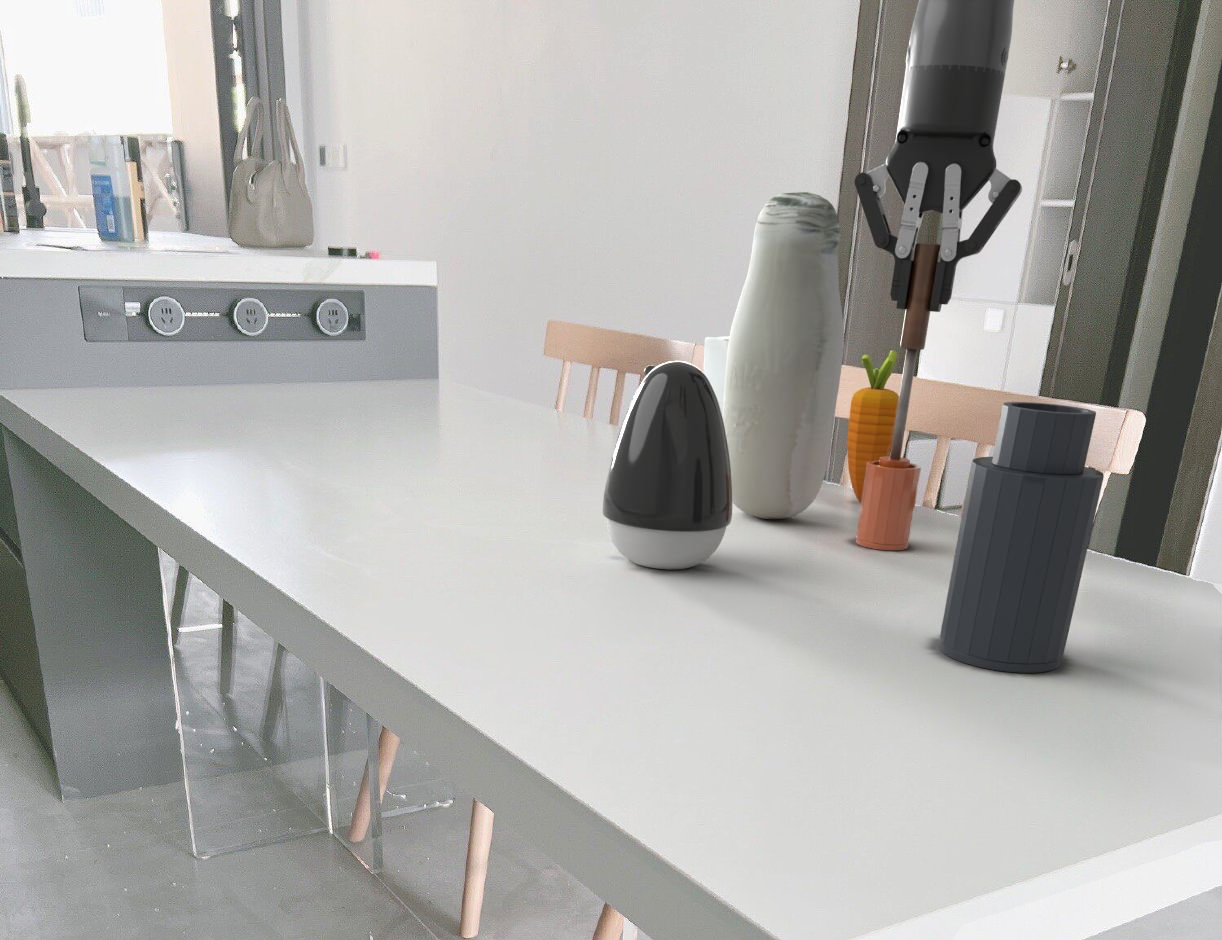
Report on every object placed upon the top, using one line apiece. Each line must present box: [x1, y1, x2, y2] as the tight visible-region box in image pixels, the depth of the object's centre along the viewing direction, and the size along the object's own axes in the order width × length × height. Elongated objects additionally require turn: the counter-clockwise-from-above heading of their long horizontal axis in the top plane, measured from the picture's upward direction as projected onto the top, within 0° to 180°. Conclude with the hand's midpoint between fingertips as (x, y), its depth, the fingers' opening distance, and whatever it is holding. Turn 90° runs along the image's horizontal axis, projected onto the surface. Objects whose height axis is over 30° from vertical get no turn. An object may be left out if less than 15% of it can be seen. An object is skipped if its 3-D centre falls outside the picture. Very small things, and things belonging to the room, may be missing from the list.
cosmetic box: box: [702, 335, 730, 417], centre depth 135 cm, size 8×6×15 cm
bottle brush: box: [879, 242, 941, 468], centre depth 104 cm, size 3×3×24 cm
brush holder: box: [855, 460, 922, 551], centre depth 108 cm, size 5×5×7 cm
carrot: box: [847, 350, 899, 504], centre depth 125 cm, size 5×5×15 cm
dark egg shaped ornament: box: [601, 360, 733, 570], centre depth 95 cm, size 10×10×15 cm
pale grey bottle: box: [723, 191, 845, 520], centre depth 112 cm, size 10×10×28 cm
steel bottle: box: [938, 401, 1105, 674], centre depth 77 cm, size 8×8×16 cm
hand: (918, 309), depth 101 cm, fingers closed on bottle brush, 2 cm apart
